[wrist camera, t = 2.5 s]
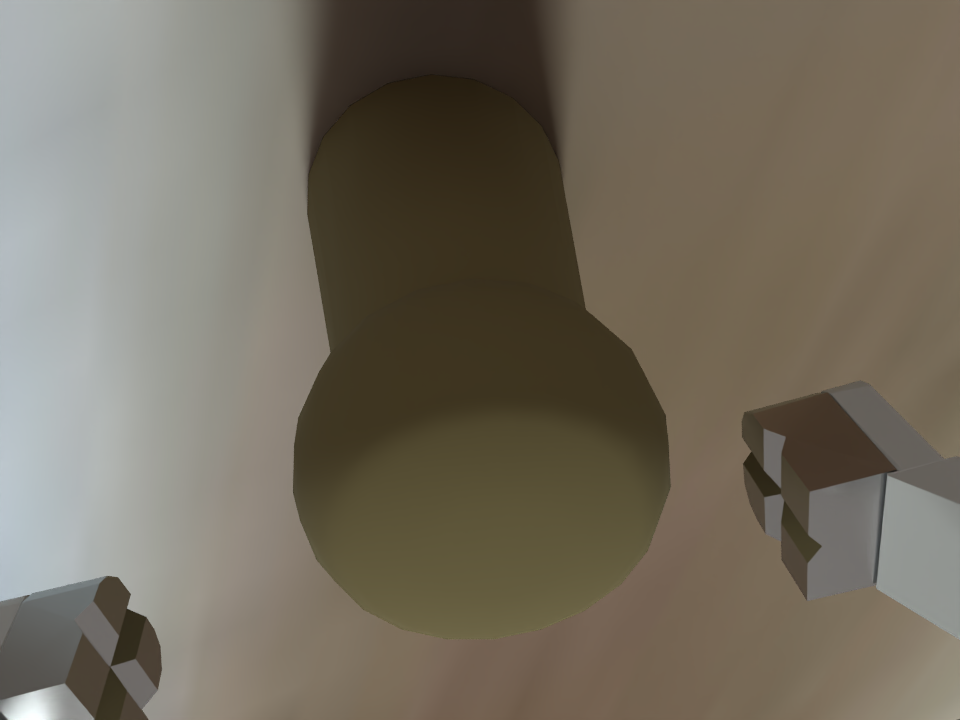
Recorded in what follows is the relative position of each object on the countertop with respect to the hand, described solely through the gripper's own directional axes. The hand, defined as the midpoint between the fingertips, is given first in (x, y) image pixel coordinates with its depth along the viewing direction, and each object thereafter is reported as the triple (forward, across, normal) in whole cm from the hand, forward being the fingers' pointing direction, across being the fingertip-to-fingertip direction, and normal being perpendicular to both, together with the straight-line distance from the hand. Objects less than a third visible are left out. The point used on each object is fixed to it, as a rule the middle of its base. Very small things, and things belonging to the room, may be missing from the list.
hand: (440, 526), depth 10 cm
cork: (+11, -1, 0) cm, 11 cm away
